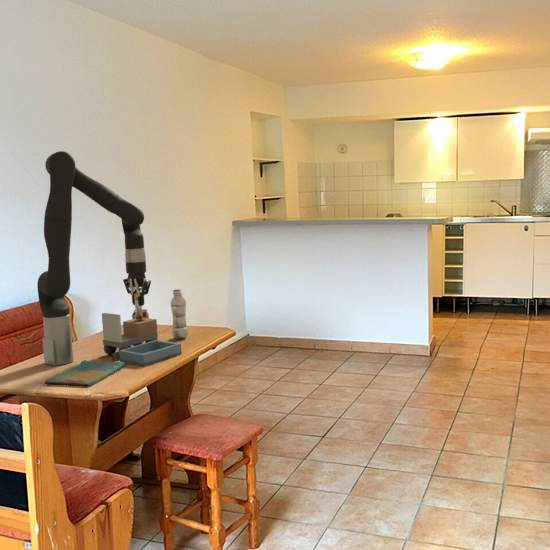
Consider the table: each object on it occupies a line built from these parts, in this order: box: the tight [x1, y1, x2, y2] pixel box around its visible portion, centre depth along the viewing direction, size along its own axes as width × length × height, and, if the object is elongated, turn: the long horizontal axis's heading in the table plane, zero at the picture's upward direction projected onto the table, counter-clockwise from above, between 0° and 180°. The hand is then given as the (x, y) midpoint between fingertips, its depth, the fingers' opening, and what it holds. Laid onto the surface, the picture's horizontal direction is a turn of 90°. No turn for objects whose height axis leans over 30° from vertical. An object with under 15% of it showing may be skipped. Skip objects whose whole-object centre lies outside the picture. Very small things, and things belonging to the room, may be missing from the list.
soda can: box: [131, 308, 150, 320], centre depth 261 cm, size 7×7×12 cm
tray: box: [118, 339, 182, 367], centre depth 231 cm, size 18×13×4 cm
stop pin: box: [134, 292, 143, 319], centre depth 244 cm, size 3×3×10 cm
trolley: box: [101, 312, 159, 361], centre depth 240 cm, size 21×10×16 cm, turn 143°
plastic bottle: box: [169, 288, 189, 340], centre depth 259 cm, size 6×7×20 cm
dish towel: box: [43, 359, 126, 388], centre depth 213 cm, size 17×23×2 cm
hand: (138, 305), depth 244 cm, fingers closed on stop pin, 2 cm apart
